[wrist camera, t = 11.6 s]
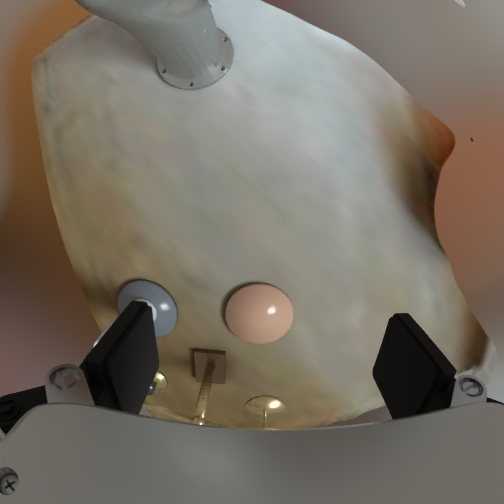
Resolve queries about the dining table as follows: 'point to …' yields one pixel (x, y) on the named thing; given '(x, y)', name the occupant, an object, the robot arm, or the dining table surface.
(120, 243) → the dining table surface
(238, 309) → the pink dome
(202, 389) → the balance
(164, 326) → the dish slate
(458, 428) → the robot arm
